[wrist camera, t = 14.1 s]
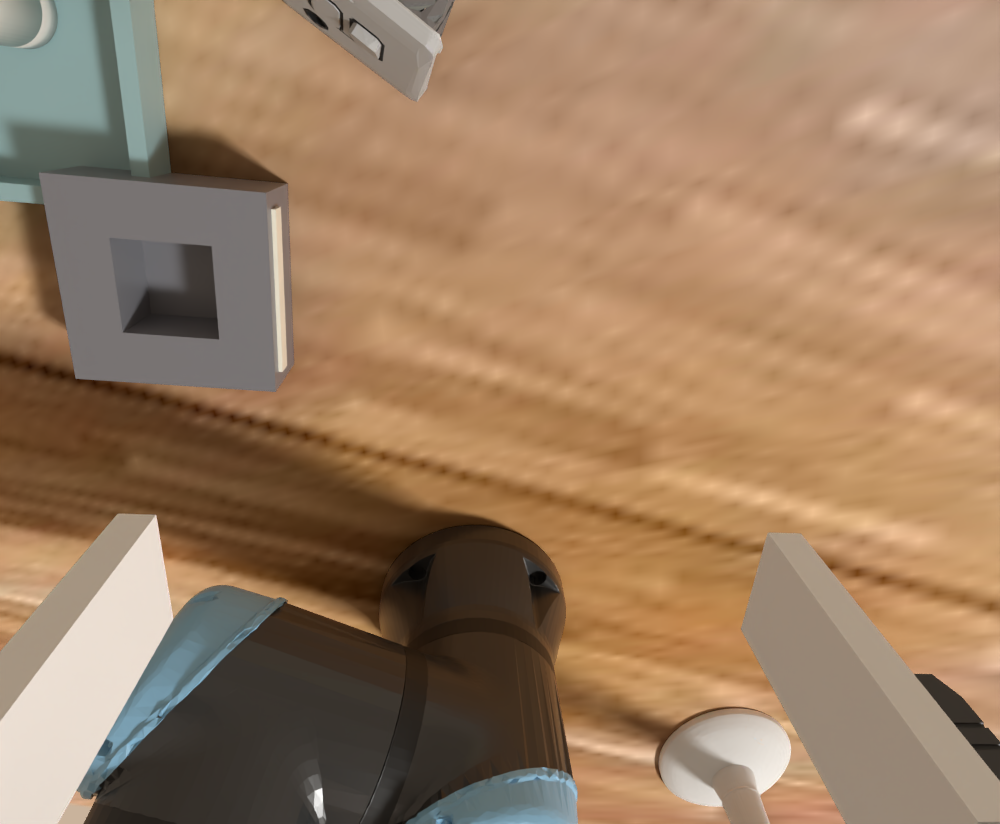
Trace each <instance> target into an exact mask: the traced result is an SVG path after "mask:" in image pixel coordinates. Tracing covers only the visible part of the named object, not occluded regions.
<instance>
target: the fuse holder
mask: <svg viewBox="0 0 1000 824" xmlns="http://www.w3.org/2000/svg"><path fill="white" fill-rule="evenodd" d="M39 178H40V183H41V189H42V195H43V200H44V206H45V211H46V217H47V222H48V228H49V233H50V239H51V245H52V250H53V256H54V261H55V267H56V272H57V278H58V283H59V289H60V295H61V300H62V306H63V311H64V317H65V322H66V328H67V333H68V339H69V344H70V350H71V356H72V361H73V367H74V372H75V378H76V379H88V380H103V381H118V382H134V383H149V384H164V385H180V386H195V387H210V388H226V389H241V390H256V391H272V392H276V391H277V389H278V388H279V386H280V385H281V383H282V381H283V380H284V378H285V377H286V375H287V374H288V372H289V371H290V369H291V368H292V366H293V365H294V349H293V321H292V292H291V264H290V236H289V208H288V183H278V182H267V181H256V180H245V179H234V178H223V177H212V176H201V175H190V174H179V173H168V174H164V175H159V176H155V177H151V178H148V177H136V176H131V170H121V169H110V168H99V167H88V166H76V167H70V168H64V169H57V170H51V171H45V172H39Z"/></svg>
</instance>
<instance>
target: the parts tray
mask: <svg viewBox="0 0 1000 824" xmlns="http://www.w3.org/2000/svg"><path fill="white" fill-rule="evenodd" d="M54 2H55V5H56V8H57V14H58V23H57V29H56V32H55V34H54V36H53V37H52V39H51V40H50V41H49V42H48V43H47V44H45V45H44V46H42V47H40V48H36V49H22V48H15V47H8V46H0V201H12V202H24V203H35V204H44V200H43V195H42V189H41V183H40V178H39V172H45V171H51V170H57V169H64V168H70V167H76V166H88V167H99V168H110V169H121V170H131V176H136V177H148V178H151V177H155V176H159V175H164V174H168V173H171V166H170V156H169V146H168V137H167V127H166V117H165V108H164V98H163V88H162V78H161V69H160V59H159V49H158V40H157V30H156V20H155V10H154V1H153V0H54Z"/></svg>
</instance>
